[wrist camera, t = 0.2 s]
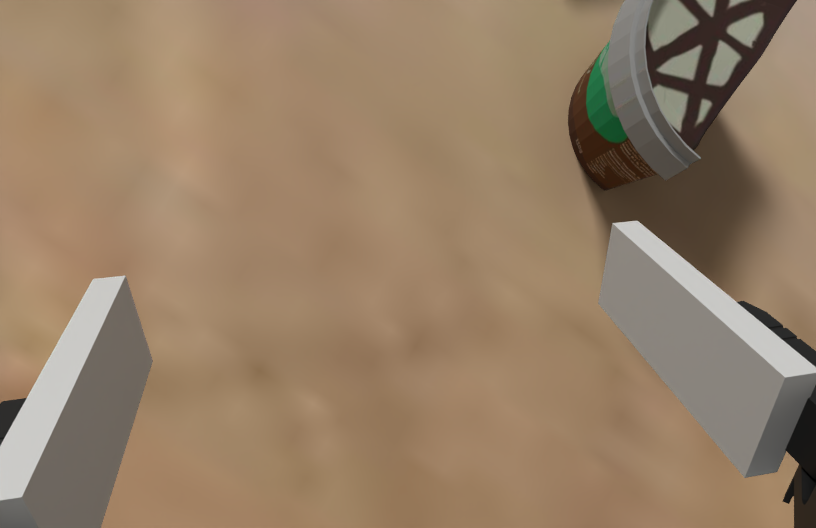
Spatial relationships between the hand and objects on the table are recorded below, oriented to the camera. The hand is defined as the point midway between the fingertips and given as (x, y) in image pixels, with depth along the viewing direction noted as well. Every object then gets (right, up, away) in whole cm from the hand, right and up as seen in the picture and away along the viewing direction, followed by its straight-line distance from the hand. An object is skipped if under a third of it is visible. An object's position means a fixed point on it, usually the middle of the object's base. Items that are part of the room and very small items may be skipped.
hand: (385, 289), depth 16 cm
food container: (+12, +10, +18) cm, 24 cm away
